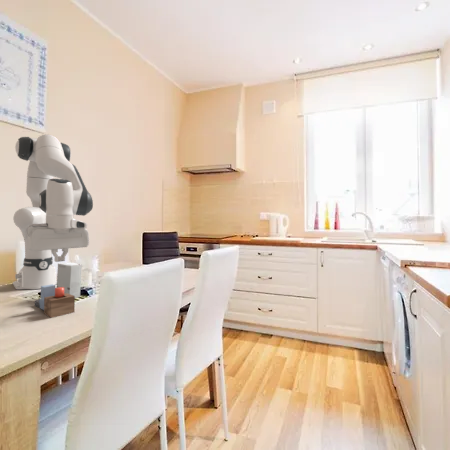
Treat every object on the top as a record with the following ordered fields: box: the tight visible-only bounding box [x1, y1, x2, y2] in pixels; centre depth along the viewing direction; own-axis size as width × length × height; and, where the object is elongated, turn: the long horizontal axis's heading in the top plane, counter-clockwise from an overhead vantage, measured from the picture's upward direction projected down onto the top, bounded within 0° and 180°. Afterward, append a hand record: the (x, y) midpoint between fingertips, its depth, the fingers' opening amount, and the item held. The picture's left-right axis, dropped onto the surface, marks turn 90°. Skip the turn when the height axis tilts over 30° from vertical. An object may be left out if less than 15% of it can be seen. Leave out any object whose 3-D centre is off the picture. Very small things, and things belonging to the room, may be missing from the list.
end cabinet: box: [43, 293, 76, 319], centre depth 108 cm, size 6×8×6 cm
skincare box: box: [56, 261, 83, 299], centre depth 128 cm, size 8×6×15 cm
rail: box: [34, 299, 42, 310], centre depth 113 cm, size 13×2×2 cm, turn 52°
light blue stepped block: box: [38, 284, 56, 311], centre depth 110 cm, size 5×4×8 cm
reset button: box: [55, 287, 64, 297], centre depth 108 cm, size 3×3×3 cm
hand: (59, 261), depth 107 cm, fingers closed
